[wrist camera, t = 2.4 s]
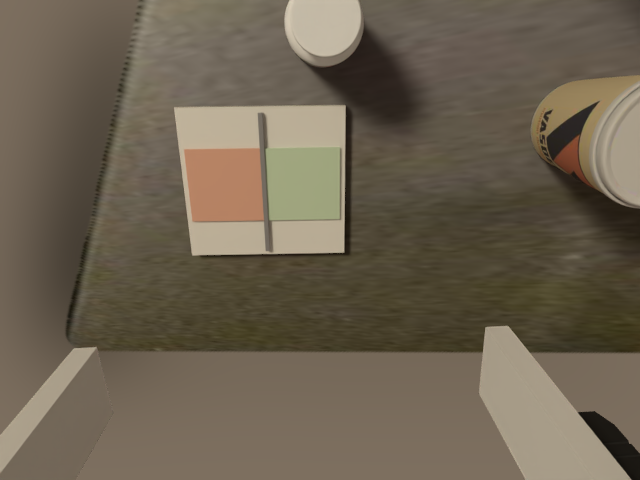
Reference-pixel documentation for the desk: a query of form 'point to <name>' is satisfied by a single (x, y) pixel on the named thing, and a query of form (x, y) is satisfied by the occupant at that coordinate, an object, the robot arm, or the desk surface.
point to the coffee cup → (594, 134)
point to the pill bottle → (324, 30)
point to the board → (263, 178)
